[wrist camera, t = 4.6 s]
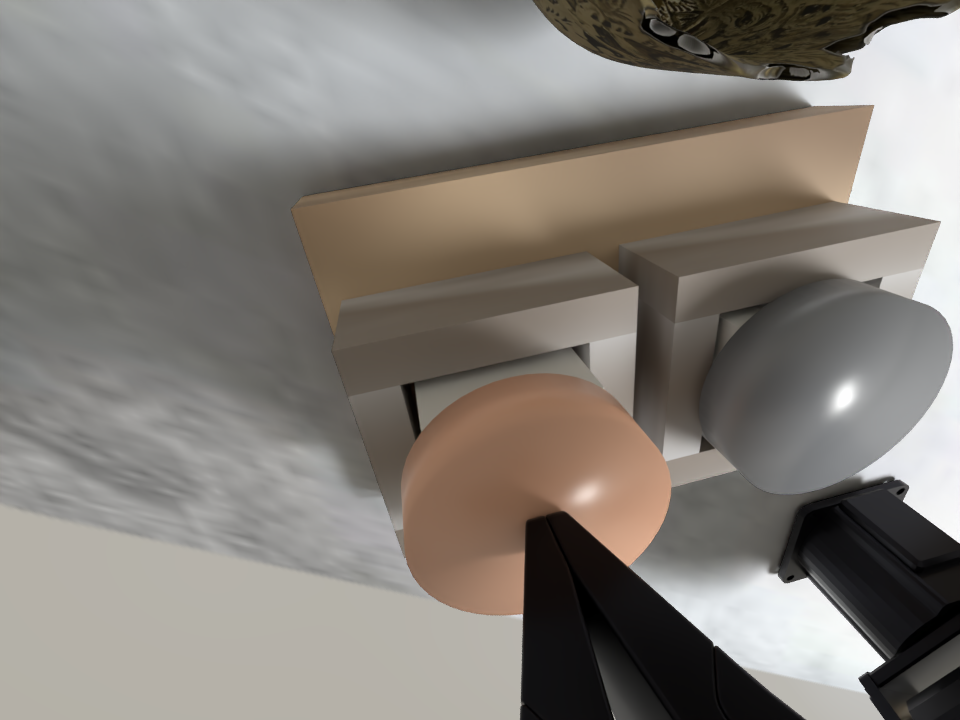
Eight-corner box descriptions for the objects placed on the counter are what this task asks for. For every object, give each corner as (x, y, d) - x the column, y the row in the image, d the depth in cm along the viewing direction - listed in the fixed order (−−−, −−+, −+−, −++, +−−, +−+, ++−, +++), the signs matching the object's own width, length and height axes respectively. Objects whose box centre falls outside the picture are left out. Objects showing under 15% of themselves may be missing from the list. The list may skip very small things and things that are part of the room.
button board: (750, 408, 20) (850, 488, 16) (399, 496, 19) (406, 611, 14) (813, 105, 14) (1004, 103, 10) (302, 196, 12) (263, 239, 8)
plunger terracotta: (588, 456, 15) (662, 576, 11) (419, 499, 14) (434, 641, 10) (584, 298, 12) (683, 385, 8) (373, 342, 11) (370, 460, 7)
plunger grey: (783, 384, 16) (904, 465, 13) (640, 419, 16) (722, 516, 12) (820, 231, 14) (992, 277, 10) (648, 267, 13) (759, 331, 9)
